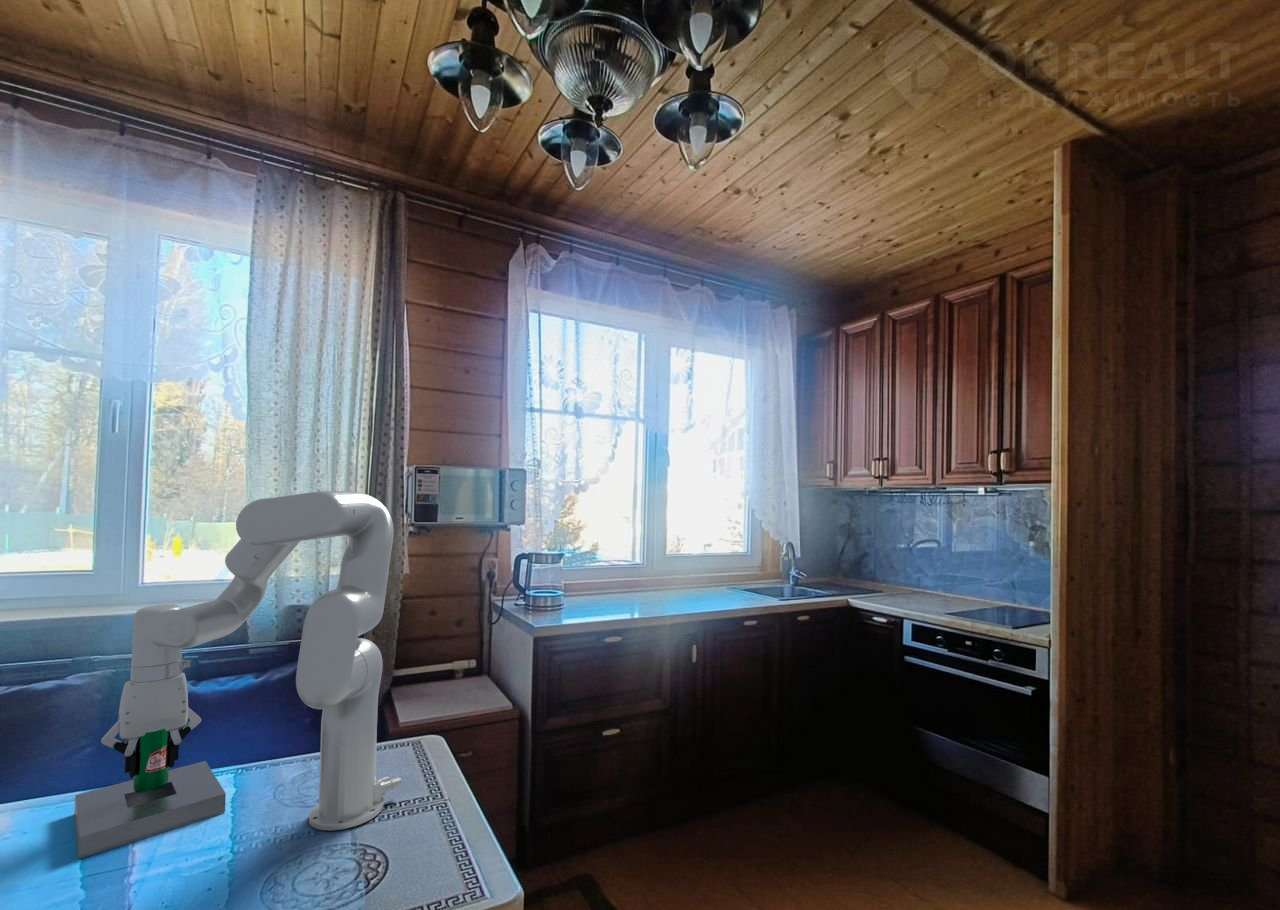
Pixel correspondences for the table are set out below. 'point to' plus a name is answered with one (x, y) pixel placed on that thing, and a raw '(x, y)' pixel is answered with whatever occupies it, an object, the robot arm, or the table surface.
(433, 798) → the table surface
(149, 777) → the soda can
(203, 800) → the bore block
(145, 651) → the robot arm
